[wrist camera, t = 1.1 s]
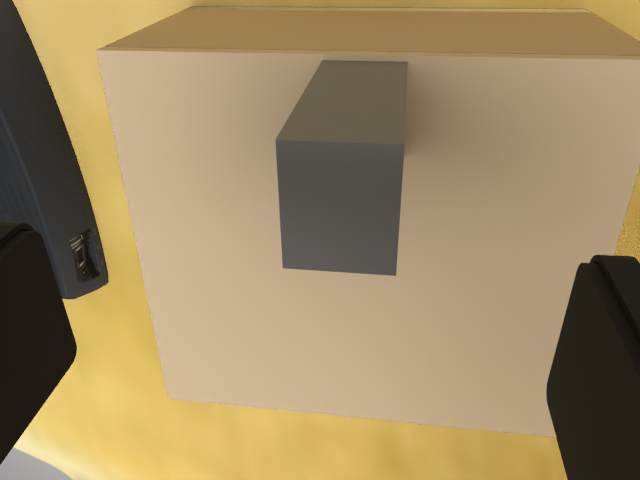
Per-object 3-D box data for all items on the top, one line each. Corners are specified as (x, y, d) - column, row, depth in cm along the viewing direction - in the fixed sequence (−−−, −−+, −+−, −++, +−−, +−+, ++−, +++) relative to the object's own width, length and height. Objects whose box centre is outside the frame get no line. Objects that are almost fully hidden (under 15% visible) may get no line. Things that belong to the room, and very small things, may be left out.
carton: (523, 305, 37) (557, 426, 28) (225, 284, 39) (173, 389, 31) (586, 9, 28) (662, 55, 19) (191, 6, 30) (104, 46, 22)
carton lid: (557, 428, 28) (608, 612, 21) (172, 390, 31) (96, 543, 23) (664, 56, 19) (821, 150, 12) (103, 47, 22) (-57, 119, 14)
